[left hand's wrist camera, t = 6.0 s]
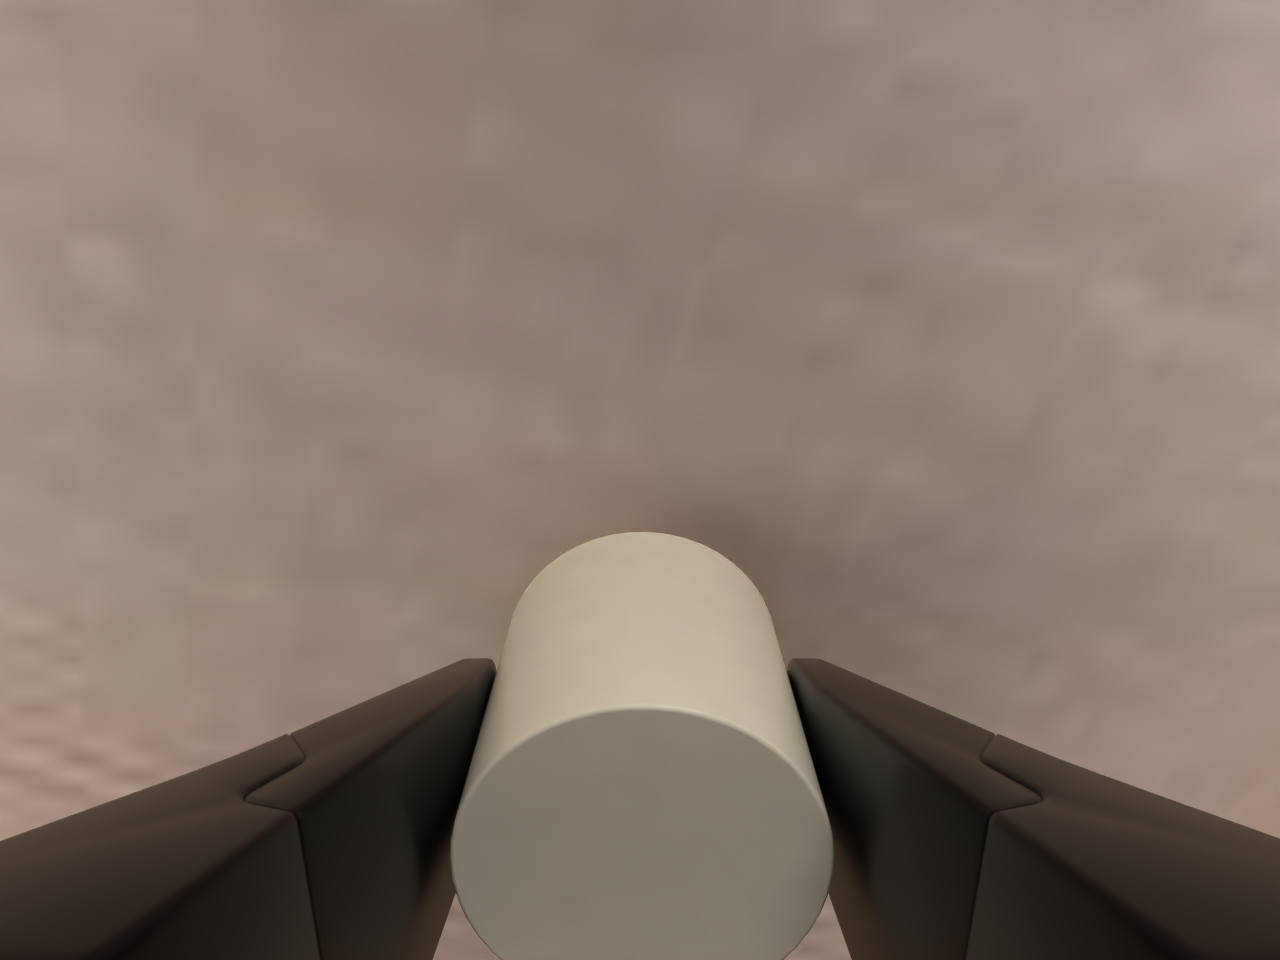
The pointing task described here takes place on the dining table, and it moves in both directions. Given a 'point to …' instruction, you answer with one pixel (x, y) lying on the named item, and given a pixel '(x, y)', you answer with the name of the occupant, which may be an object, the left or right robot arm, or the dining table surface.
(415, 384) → the dining table surface
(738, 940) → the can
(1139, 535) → the dining table surface
